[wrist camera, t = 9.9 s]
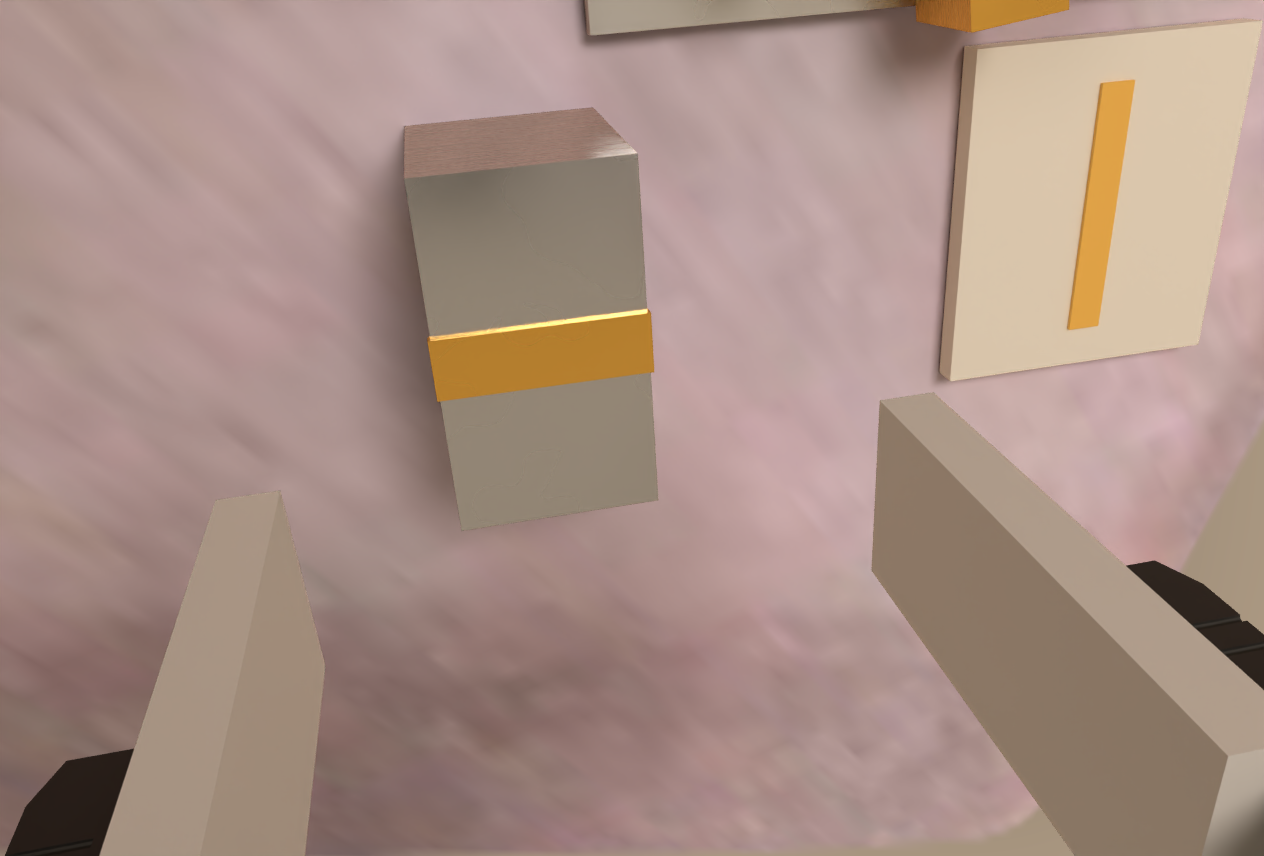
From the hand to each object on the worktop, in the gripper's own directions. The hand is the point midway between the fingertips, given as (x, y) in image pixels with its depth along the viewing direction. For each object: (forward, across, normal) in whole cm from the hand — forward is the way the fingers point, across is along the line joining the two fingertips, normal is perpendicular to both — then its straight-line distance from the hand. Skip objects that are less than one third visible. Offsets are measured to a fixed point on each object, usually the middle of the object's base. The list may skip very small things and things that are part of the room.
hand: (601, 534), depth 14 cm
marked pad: (+11, +14, 0) cm, 18 cm away
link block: (+11, 0, 0) cm, 11 cm away
